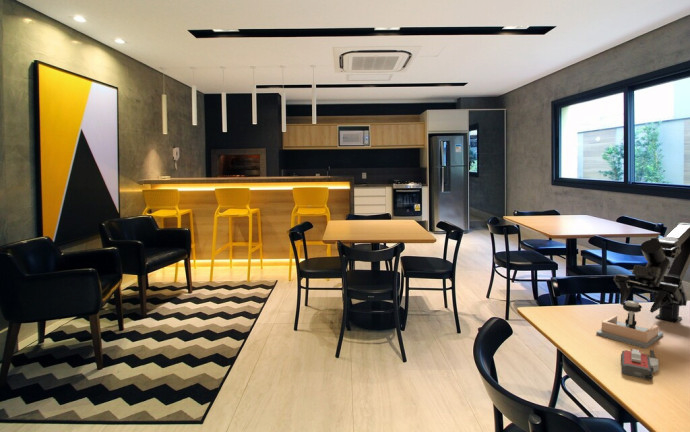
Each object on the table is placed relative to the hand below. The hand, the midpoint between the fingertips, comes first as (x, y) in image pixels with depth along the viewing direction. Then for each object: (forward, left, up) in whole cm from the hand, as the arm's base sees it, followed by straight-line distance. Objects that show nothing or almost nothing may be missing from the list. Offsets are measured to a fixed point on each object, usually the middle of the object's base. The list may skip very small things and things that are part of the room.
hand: (635, 307), depth 141 cm
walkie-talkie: (+24, +9, -9) cm, 28 cm away
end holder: (+3, 0, -9) cm, 9 cm away
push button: (+2, 0, -8) cm, 8 cm away
